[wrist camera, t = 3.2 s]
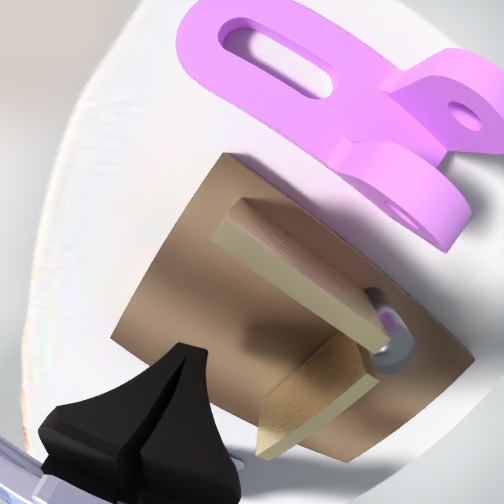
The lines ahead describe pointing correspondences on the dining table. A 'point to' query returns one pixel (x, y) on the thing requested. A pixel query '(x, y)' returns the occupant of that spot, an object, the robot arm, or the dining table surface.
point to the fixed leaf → (317, 285)
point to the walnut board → (274, 317)
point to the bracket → (358, 107)
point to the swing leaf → (314, 395)
